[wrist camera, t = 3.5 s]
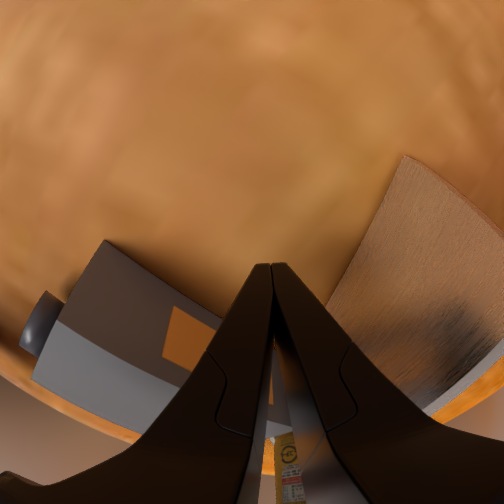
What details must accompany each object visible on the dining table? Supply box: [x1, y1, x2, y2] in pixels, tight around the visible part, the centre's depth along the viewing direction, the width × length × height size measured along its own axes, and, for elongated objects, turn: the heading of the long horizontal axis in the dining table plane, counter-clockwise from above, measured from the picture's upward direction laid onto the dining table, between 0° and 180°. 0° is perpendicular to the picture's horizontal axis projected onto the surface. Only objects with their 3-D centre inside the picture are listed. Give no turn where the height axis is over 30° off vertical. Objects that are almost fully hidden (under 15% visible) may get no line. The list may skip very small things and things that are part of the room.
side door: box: [325, 155, 504, 416], centre depth 9 cm, size 11×2×7 cm, turn 165°
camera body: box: [19, 240, 292, 439], centre depth 12 cm, size 14×9×7 cm, turn 45°
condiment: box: [269, 431, 306, 504], centre depth 20 cm, size 7×8×12 cm
